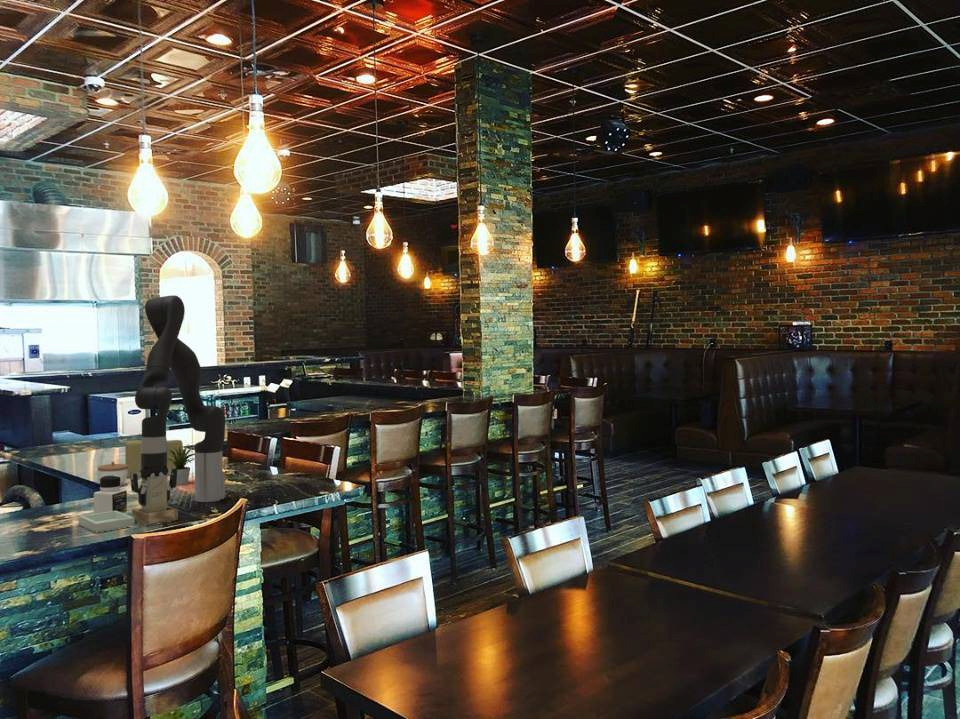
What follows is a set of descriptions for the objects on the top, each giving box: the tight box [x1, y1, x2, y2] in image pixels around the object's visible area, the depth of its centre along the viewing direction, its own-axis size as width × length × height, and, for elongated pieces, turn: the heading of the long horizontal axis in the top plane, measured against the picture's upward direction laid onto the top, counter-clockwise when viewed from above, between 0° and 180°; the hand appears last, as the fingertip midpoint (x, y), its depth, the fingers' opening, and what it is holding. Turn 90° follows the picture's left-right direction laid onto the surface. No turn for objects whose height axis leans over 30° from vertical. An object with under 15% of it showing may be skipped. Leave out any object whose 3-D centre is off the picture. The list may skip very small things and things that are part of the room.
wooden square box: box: [131, 505, 179, 527], centre depth 239 cm, size 10×10×4 cm
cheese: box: [124, 439, 184, 479], centre depth 319 cm, size 22×10×15 cm, turn 95°
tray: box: [78, 511, 135, 534], centre depth 233 cm, size 11×14×3 cm
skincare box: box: [141, 475, 168, 514], centre depth 239 cm, size 6×4×12 cm
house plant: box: [167, 443, 195, 486], centre depth 300 cm, size 14×14×16 cm
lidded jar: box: [97, 461, 128, 487], centre depth 297 cm, size 11×11×9 cm
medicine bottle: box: [93, 475, 128, 514], centre depth 251 cm, size 7×7×12 cm
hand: (154, 503), depth 239 cm, fingers closed on skincare box, 6 cm apart
